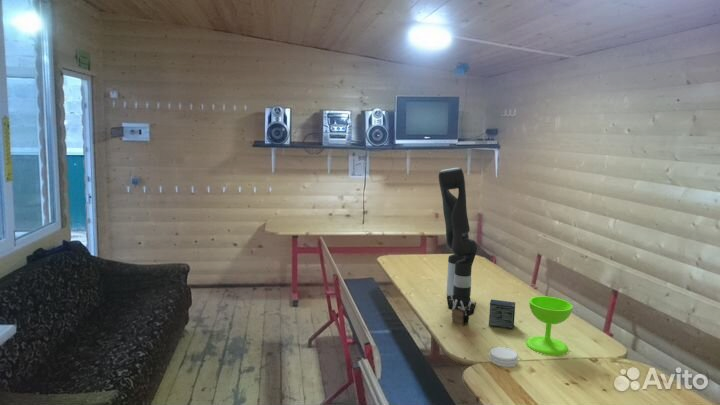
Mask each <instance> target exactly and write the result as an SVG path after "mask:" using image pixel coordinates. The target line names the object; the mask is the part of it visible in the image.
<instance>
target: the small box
mask: <svg viewBox="0 0 720 405" xmlns="http://www.w3.org/2000/svg"><path fill="white" fill-rule="evenodd" d="M515 314H516V302H514V301H507V300H498V299H490V302H489V315H488V327H493V328H499V329H506V330H512V331H513V330H514V327H515Z"/></svg>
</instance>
